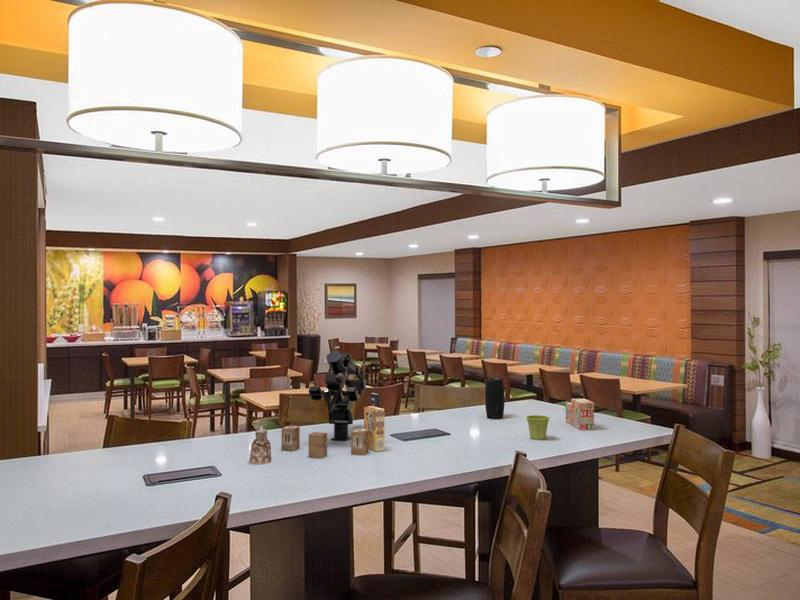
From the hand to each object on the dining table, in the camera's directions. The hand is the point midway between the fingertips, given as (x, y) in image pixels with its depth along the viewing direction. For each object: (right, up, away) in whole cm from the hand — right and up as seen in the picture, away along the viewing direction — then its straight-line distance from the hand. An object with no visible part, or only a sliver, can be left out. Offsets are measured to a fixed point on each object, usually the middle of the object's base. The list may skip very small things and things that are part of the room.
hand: (329, 411), depth 224 cm
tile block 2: (+12, -13, -9) cm, 20 cm away
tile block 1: (-14, -14, -3) cm, 20 cm away
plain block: (-2, -13, -14) cm, 19 cm away
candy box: (+17, -14, -2) cm, 22 cm away
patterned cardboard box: (+108, -15, +45) cm, 117 cm away
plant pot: (+82, -14, +17) cm, 85 cm away
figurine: (-21, -13, -22) cm, 33 cm away
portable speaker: (+73, -16, +66) cm, 99 cm away
